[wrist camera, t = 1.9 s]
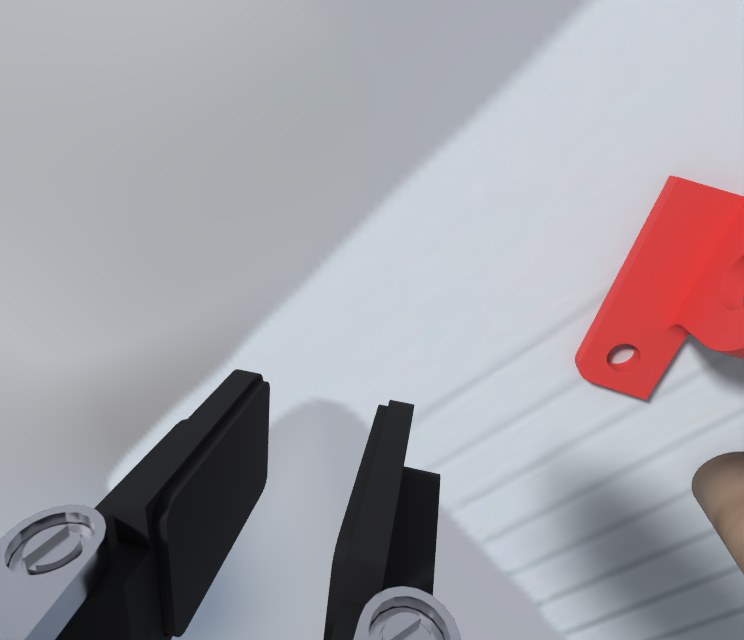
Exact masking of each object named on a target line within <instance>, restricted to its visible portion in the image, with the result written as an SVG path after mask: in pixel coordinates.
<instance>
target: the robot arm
mask: <svg viewBox="0 0 744 640" xmlns="http://www.w3.org/2000/svg"><path fill="white" fill-rule="evenodd" d="M269 397H270V385H269V383H268V382H265V381H263V377H262V375H261V374H258V373H253V372H248V371H243V370H238V369H237V370H234V371H233V372H232V373H231V374H230V375H229V376H228V377H227V378H226V379H225V380H224V381H223V383H222V384H221V385H220V386H219V387H218V388H217V389H216V390H215V391H214V392H213V393H212V394H211V395H210V396H209V397H208V398H207V399H206V400H205V401H204V402H203V403H202V404H201V406H200V407H199V408H198V409H197V410H196V411H195V412H194V413H193V414H192V415H191V416H190V417H189V418H188V419H185V420H182V421H180V422H179V423H178V424H176V425H175V426H174V427H173V428H172V429H171V431H170V432H169V433H168V434H167V435H166V436H165V437H164V438H163V439H162V440H161V441H160V442H159V443H158V444H157V445H156V446H155V447H154V448H153V449H152V450H151V451H150V452H149V453H148V454H147V455H146V456H145V457H144V458H143V459H142V460H141V461H140V462H139V463H138V464H137V465H136V466H135V467H134V468H133V469H132V470H131V471H130V472H129V473H128V475H127V476H126V477H125V478H124V479H123V480H122V481H121V482H120V483H119V484H118V485H117V486H116V487H115V488H114V489H113V490H112V491H111V492H110V493H109V494H108V495H107V496H106V497H105V498H104V499H103V500H102V501H101V502H100V503H99V504H98V505H97V506H96V507H95V508H94V509H93V508H90V507H87V506H83V505H65V506H59V507H54V508H51V509H48V510H45V511H42V512H39V513H37V514H35V515H33V516H31V517H29V518H27V519H25V520H23V521H22V522H20V523H19V524H18V525H16V526H15V527H14V528H13V529H11V530H10V531H9V532H7V533H6V534H5V536H3V537H2V538H1V539H0V640H171V638H172V636H175V637H180V636H182V634H183V633H184V632H185V630H186V629H187V627H188V625H189V623H190V622H191V620H192V618H193V616H194V614H195V613H196V610H197V609H198V607H199V605H200V604H201V602H202V600H203V598H204V596H205V595H206V593H207V591H208V589H209V587H210V586H211V584H212V582H213V580H214V578H215V577H216V575H217V573H218V571H219V569H220V568H221V566H222V564H223V562H224V560H225V559H226V557H227V555H228V553H229V551H230V550H231V548H232V546H233V544H234V542H235V541H236V539H237V537H238V535H239V533H240V531H241V530H242V528H243V526H244V524H245V523H246V521H247V519H248V517H249V515H250V514H251V512H252V510H253V508H254V506H255V504H256V503H257V501H258V499H259V497H260V496H261V494H262V492H263V489H264V487H265V483H266V479H267V464H268V432H269ZM413 410H414V405H413V404H408V403H403V402H398V401H393V400H390V401H389V405H388V406H384V405H379V406H378V409H377V412H376V415H375V419H374V422H373V425H372V428H371V432H370V435H369V438H368V441H367V445H366V448H365V451H364V455H363V458H362V461H361V464H360V467H359V471H358V474H357V477H356V480H355V484H354V487H353V490H352V493H351V497H350V500H349V503H348V506H347V510H346V513H345V517H344V519H343V523H342V526H341V529H340V532H339V536H338V539H337V544H336V547H335V552H334V557H333V562H332V569H331V578H330V587H329V596H328V605H327V614H326V622H325V632H324V640H461V637H460V633H459V630H458V628H457V626H456V623H455V620H454V618H453V617H452V616H451V614H450V613H449V612H448V610H447V609H446V607H445V606H444V605H443V604H442V603H441V602H439V601H438V600H437V599H436V598H434V597H433V583H434V567H435V552H436V537H437V521H438V506H439V491H440V474H436V473H432V472H427V471H422V470H418V469H413V468H409V467H404V461H405V456H406V450H407V444H408V439H409V433H410V427H411V422H412V416H413Z"/></svg>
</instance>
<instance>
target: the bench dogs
mask: <svg viewBox="0 0 744 640" xmlns="http://www.w3.org/2000/svg"><path fill="white" fill-rule="evenodd" d="M692 492H693V495H694V496H695V498H696V500H697V501H698V503H699V505H700V506H701V508H702V509H703V511H704V512H705V514H706V516H707V517H708V519H709V520H710V522H711V523H712V525H713V527H714V528H715V530H716V531H717V533H718V535H719V536H720V538H721V539H722V541H723V542H724V544H725V546H726V547H727V549H728V550H729V552H730V553H731V555H732V557H733V558H734V560H735V561H736V563H737V565H738V566H739V568H740V569H741V571H742V572H743V574H744V452H732V453H727V454H723V455H720V456H717V457H715V458H712V459H711V460H709V461H707V462H706V463H705V464H703V465H702V466H701V467H700V468H699V469H698V471H697V472H696V473H695V475H694V477H693V480H692Z"/></svg>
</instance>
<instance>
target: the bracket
mask: <svg viewBox="0 0 744 640" xmlns="http://www.w3.org/2000/svg"><path fill="white" fill-rule="evenodd" d="M743 297H744V196H740V195H737V194H733V193H730V192H727V191H723V190H720V189H716V188H713V187H710V186H706V185H703V184H699V183H696V182H693V181H689V180H686V179H682V178H679V177H674V176H669V178H668V180H667V182H666V184H665V186H664V188H663V189H662V191H661V193H660V195H659V197H658V199H657V201H656V203H655V205H654V207H653V208H652V210H651V212H650V214H649V216H648V218H647V220H646V222H645V224H644V226H643V228H642V229H641V231H640V233H639V235H638V237H637V239H636V241H635V243H634V245H633V247H632V249H631V250H630V252H629V254H628V256H627V258H626V260H625V262H624V264H623V266H622V268H621V269H620V271H619V273H618V275H617V277H616V279H615V281H614V283H613V285H612V287H611V289H610V290H609V292H608V294H607V296H606V298H605V300H604V302H603V304H602V306H601V308H600V309H599V311H598V313H597V315H596V317H595V319H594V321H593V323H592V325H591V327H590V329H589V330H588V332H587V334H586V336H585V338H584V340H583V342H582V344H581V346H580V348H579V350H578V351H577V353H576V356H575V363H576V366H577V368H578V370H579V372H580V374H581V376H582V377H583V378H584V379H585V380H587V381H589V382H592V383H595V384H598V385H601V386H604V387H607V388H611V389H614V390H617V391H620V392H623V393H626V394H629V395H632V396H635V397H638V398H641V399H644V400H646V399H647V398H648V396H649V394H650V393H651V391H652V390H653V388H654V387H655V385H656V383H657V382H658V380H659V379H660V377H661V375H662V374H663V372H664V371H665V369H666V367H667V366H668V364H669V363H670V361H671V360H672V358H673V356H674V355H675V353H676V352H677V350H678V348H679V347H680V345H681V344H682V342H683V341H684V339H685V338H686V337H687V336H688V335H689V334H690V333H691V334H692V335H693V336H694V337H695V338H697V339H698V340H699V341H700V342H701V343H702V344H703V345H705V346H706V347H708V348H710V349H712V350H716V351H719V352H722V353H725V354H728V355H731V356H735V357H738V358H742V359H744V305H743ZM620 344H631V345H633V346H634V347H635V351H634V354H633V356H632V357H631V358H630V359H629V360H628V361H626V362H624V363H620V364H614V363H610V362H608V361H607V355H608V353H609V351H610V350H611V349H612V348H614V347H615V346H617V345H620Z"/></svg>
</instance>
